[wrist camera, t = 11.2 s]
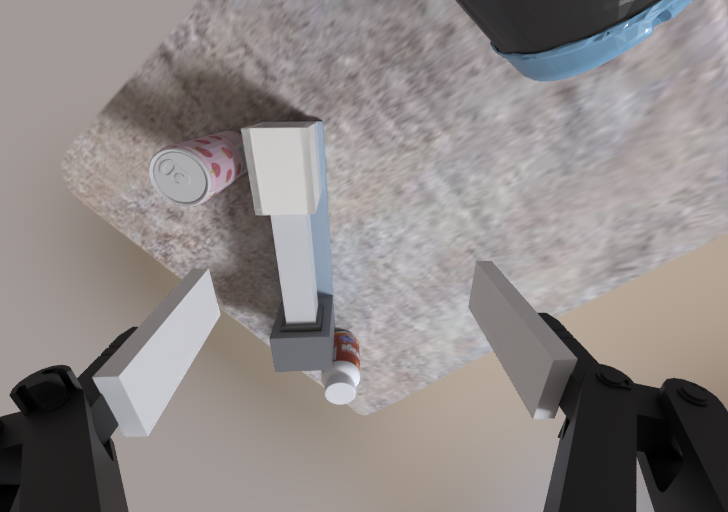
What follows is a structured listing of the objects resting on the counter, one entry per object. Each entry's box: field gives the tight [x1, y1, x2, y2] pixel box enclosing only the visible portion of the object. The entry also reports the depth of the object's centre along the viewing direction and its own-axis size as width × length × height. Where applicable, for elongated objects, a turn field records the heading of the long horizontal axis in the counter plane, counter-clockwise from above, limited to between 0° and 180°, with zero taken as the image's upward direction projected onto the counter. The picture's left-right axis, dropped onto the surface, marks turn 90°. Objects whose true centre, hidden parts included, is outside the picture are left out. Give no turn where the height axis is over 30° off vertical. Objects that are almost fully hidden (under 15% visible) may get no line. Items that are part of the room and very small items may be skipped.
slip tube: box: [271, 214, 323, 332], centre depth 42 cm, size 24×5×5 cm, turn 0°
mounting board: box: [258, 121, 335, 319], centre depth 47 cm, size 32×8×1 cm, turn 0°
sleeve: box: [241, 122, 322, 215], centre depth 37 cm, size 9×7×9 cm
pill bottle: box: [321, 331, 360, 404], centre depth 52 cm, size 6×6×11 cm
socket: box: [270, 295, 335, 372], centre depth 48 cm, size 6×8×10 cm
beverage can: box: [149, 131, 248, 207], centre depth 35 cm, size 6×6×15 cm
